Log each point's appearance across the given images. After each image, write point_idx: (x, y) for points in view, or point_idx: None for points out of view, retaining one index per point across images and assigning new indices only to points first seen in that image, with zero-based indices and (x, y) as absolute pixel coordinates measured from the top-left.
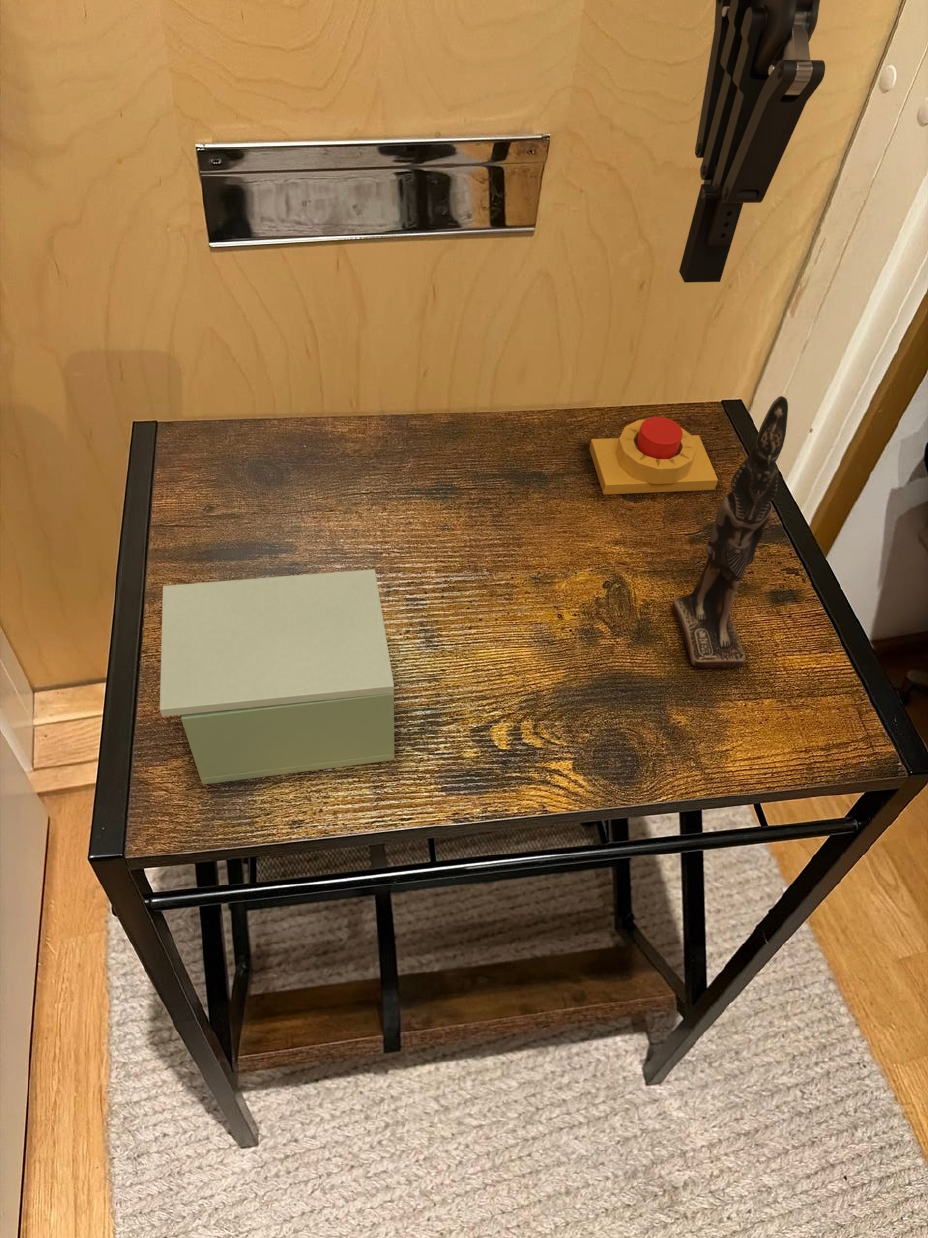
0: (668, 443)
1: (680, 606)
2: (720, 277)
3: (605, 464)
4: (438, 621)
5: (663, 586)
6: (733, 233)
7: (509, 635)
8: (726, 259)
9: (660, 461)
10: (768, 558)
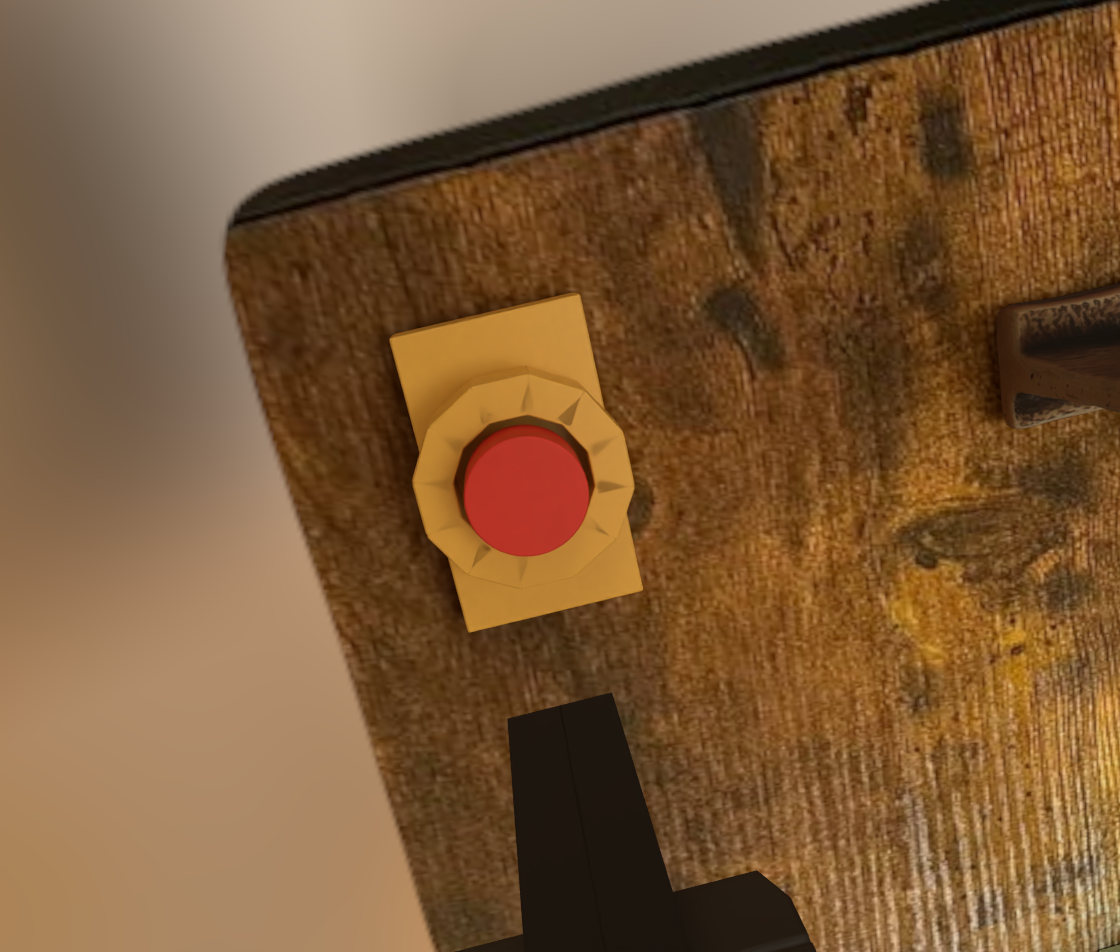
0: (585, 478)
1: (1046, 418)
2: (615, 707)
3: (567, 594)
4: (1033, 864)
5: (925, 435)
6: (661, 867)
7: (1066, 738)
8: (632, 760)
9: (605, 479)
10: (816, 164)
